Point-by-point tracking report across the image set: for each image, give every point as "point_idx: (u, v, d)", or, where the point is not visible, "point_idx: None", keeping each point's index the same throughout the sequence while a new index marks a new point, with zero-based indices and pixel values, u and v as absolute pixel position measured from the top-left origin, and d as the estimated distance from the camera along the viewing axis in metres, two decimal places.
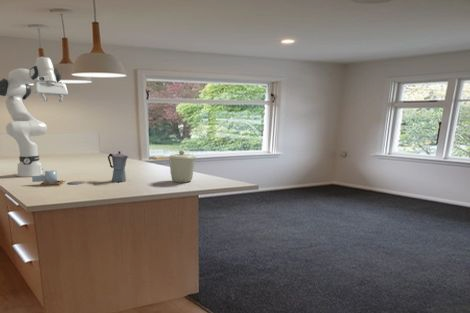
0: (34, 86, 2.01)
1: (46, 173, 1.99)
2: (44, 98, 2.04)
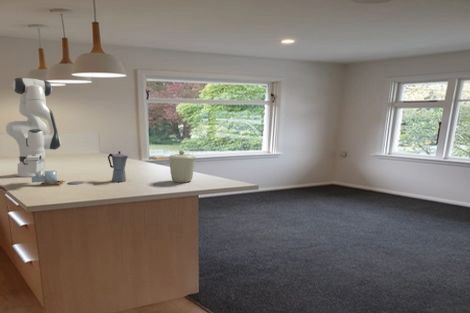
0: (32, 165, 1.91)
1: (47, 173, 1.99)
2: None
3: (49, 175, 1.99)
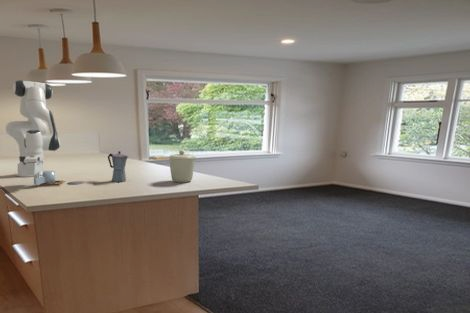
0: (30, 167, 1.85)
1: (49, 173, 1.98)
2: None
3: (52, 175, 1.99)
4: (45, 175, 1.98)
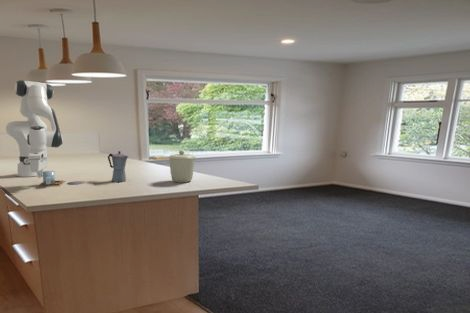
0: (34, 164, 1.83)
1: (53, 173, 2.00)
2: (39, 175, 1.92)
3: (54, 174, 2.02)
4: (49, 175, 1.98)
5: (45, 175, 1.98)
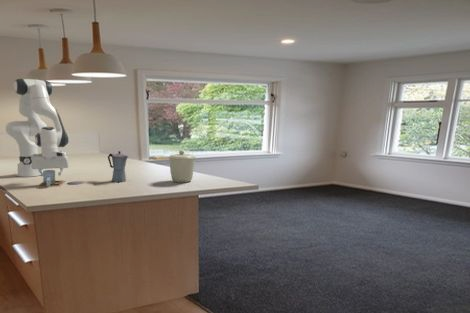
0: (67, 160, 2.04)
1: (53, 173, 2.00)
2: None
3: (54, 174, 2.01)
4: (49, 175, 1.98)
5: (45, 175, 1.97)
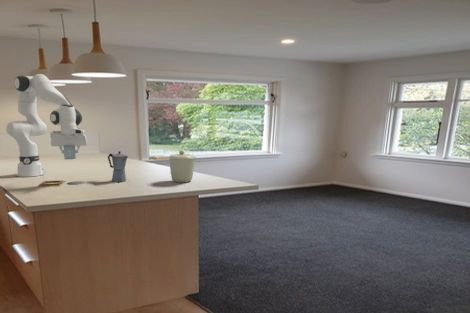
0: (86, 138, 2.05)
1: (73, 147, 2.01)
2: None
3: None
4: (70, 149, 1.99)
5: (66, 149, 1.99)
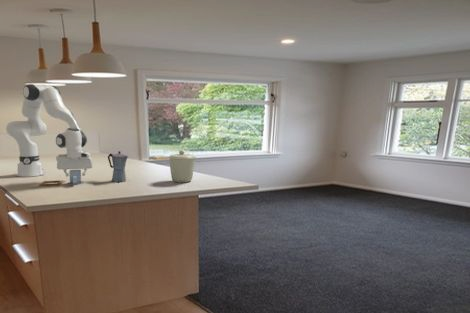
0: (91, 161, 2.07)
1: (79, 172, 2.04)
2: (84, 173, 2.07)
3: (80, 173, 2.05)
4: (76, 174, 2.02)
5: (72, 174, 2.01)
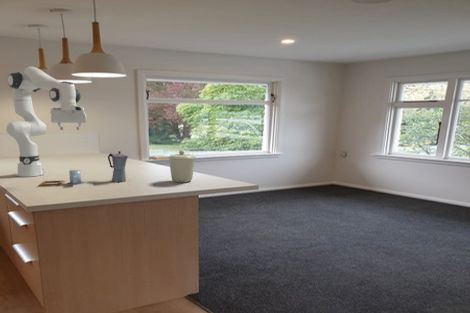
0: (85, 115, 2.08)
1: (79, 172, 2.04)
2: None
3: (80, 173, 2.05)
4: (76, 174, 2.02)
5: (72, 174, 2.02)
